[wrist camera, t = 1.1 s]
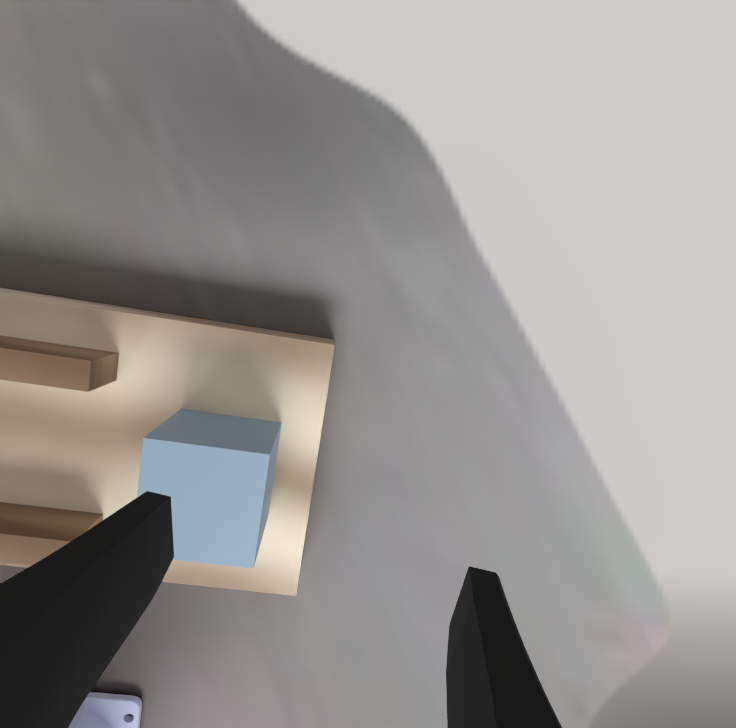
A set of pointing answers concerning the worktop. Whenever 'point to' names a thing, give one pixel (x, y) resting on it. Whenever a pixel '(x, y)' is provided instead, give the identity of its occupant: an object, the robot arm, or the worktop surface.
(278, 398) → the board
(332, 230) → the worktop surface
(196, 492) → the block
